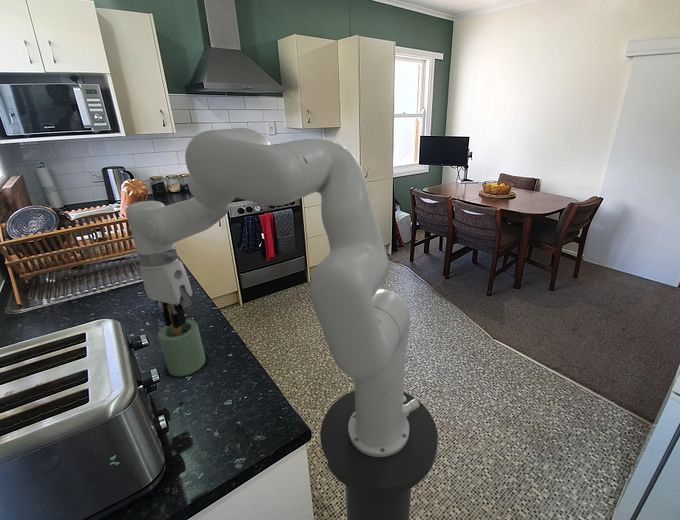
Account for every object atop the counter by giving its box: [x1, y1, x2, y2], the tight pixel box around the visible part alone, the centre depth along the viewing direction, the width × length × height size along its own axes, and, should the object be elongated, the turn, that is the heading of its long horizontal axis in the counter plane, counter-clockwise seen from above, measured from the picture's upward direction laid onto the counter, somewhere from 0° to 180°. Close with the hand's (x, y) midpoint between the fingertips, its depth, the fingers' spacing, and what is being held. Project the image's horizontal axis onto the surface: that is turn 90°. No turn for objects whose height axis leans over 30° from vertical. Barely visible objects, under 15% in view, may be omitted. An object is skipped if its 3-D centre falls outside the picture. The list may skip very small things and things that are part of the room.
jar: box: [157, 318, 206, 377], centre depth 88 cm, size 9×9×11 cm
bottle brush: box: [167, 304, 183, 336], centre depth 87 cm, size 3×3×16 cm
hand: (176, 323), depth 86 cm, fingers closed on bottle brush
